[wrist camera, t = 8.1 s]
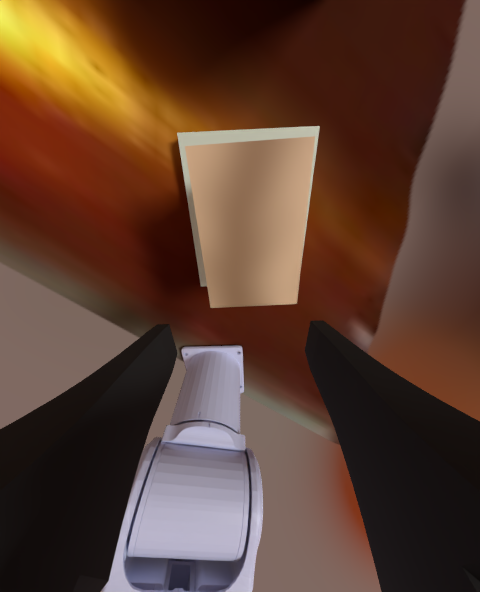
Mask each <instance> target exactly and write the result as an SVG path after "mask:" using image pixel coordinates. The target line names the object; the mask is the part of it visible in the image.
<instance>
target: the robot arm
mask: <svg viewBox="0 0 480 592" xmlns="http://www.w3.org/2000/svg"><path fill="white" fill-rule="evenodd" d="M181 352H182V356H183V360H184V363H185V367H186V371H187V372H186V375H185V378H184V381H183V384H182V387H181V390H180V394H179V397H178V401H177V403H176V407H175V409H174V413H173V416H172V419H171V422H170V425H167V426H166V428H165V431H164V434H163V437H162V438H161V437H155V438H154V439H153V440H152V441H151V442H150V443H149V444H147V445H146V446H145V448H144V444H145V442H146V438H147V435H148V432H149V429H150V426H151V424H152V421H153V418H154V416H155V413H156V411H157V408H158V406H159V403H160V401H161V399H162V396H163V394H164V391H165V389H166V387H167V384H168V382H169V379H170V377H171V374H172V371H173V368H174V364H175V361H176V357H177V350H176V346H175V343H174V340H173V336H172V333H171V329H170V326H169V324H162V325H156V326H155V327H153V328H152V329H151V330H149V331H148V332H147V333H145V334H144V335H143V336H142V337H140V338H139V339H138V340H137V341H135V342H134V343H133V344H132V345H130V346H129V347H128V348H126V349H125V350H124V351H123V352H121V353H120V354H119V355H117V356H116V357H115V358H114V359H112V360H111V361H109V362H108V363H106V364H105V365H104V366H102V367H101V368H100V369H98V370H97V371H96V372H94V373H93V374H91V375H90V376H89V377H87V378H85V379H84V380H82V381H81V382H79V383H78V384H76V385H75V386H73V387H72V388H70V389H68V390H67V391H65V392H64V393H62V394H61V395H59V396H57V397H56V398H54V399H53V400H51V401H49V402H47V403H46V404H44V405H42V406H40V407H39V408H37V409H35V410H34V411H32V412H30V413H28V414H27V415H25V416H24V417H22V418H20V419H18V420H16V421H15V422H13V423H11V424H9V425H8V426H6V427H4V428H2V429H0V592H100V591H102V592H252V590H253V580H254V570H255V561H256V553H257V548H258V546H259V542H260V537H261V530H262V519H263V492H262V480H261V473H260V468H259V464H258V461H257V459H256V458H255V456H254V453H253V451H252V450H251V449H250V448H245V435H242V434H240V393H243V392H244V377H243V352H242V347H241V346H199V347H183V348H182V350H181ZM305 353H306V356H307V360H308V363H309V367H310V370H311V372H312V375H313V377H314V380H315V382H316V384H317V387H318V389H319V391H320V394H321V396H322V398H323V401H324V403H325V405H326V408H327V410H328V412H329V415H330V417H331V420H332V422H333V425H334V427H335V430H336V433H337V436H338V440H339V443H340V445H341V449H342V451H343V455H344V458H345V461H346V464H347V468H348V471H349V474H350V477H351V481H352V483H353V487H354V491H355V494H356V498H357V501H358V505H359V508H360V512H361V515H362V518H363V522H364V525H365V529H366V533H367V537H368V541H369V544H370V548H371V551H372V556H373V559H374V563H375V567H376V571H377V575H378V579H379V583H380V587H381V591H382V592H480V421H478V420H476V419H474V418H472V417H470V416H468V415H466V414H465V413H463V412H461V411H459V410H457V409H456V408H454V407H452V406H450V405H448V404H446V403H445V402H443V401H441V400H439V399H437V398H436V397H434V396H432V395H430V394H429V393H427V392H425V391H424V390H422V389H420V388H419V387H417V386H415V385H414V384H412V383H410V382H409V381H407V380H406V379H404V378H402V377H401V376H399V375H397V374H396V373H394V372H393V371H391V370H390V369H388V368H387V367H385V366H384V365H382V364H381V363H380V362H378V361H377V360H375V359H374V358H372V357H371V356H370V355H368V354H367V353H365V352H364V351H363V350H361V349H360V348H359V347H357V346H356V345H355V344H353V343H352V342H351V341H349V340H348V339H347V338H345V337H344V336H343V335H341V334H340V333H339V332H338V331H336V330H335V329H334V328H332V327H331V326H330V325H328V324H327V323H326V322H324V321H311V322H310V327H309V332H308V337H307V342H306V347H305ZM143 448H144V449H143Z"/></svg>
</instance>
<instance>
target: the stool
mask: <svg viewBox="0 0 480 592" xmlns="http://www.w3.org/2000/svg"><path fill="white" fill-rule="evenodd" d="M314 143H315V136H313V137H300V138H286V139H273V140H260V141H246V142H233V143H220V144H207V145H193V146H185V151H186V157H187V163H188V169H189V176H190V182H191V188H192V194H193V201H194V207H195V213H196V219H197V225H198V232H199V238H200V244H201V250H202V257H203V263H204V269H205V275H206V281H207V288H208V294H209V300H210V306H211V308H218V307H239V306H260V305H281V304H297V297H298V288H299V279H300V270H301V261H302V252H303V242H304V233H305V224H306V215H307V206H308V197H309V188H310V179H311V170H312V161H313V152H314Z"/></svg>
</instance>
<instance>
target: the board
mask: <svg viewBox="0 0 480 592" xmlns="http://www.w3.org/2000/svg"><path fill="white" fill-rule="evenodd" d="M319 128H320V126H311V127H290V128H269V129H248V130H227V131H206V132H185V133H177V136H178V142H179V148H180V155H181V161H182V168H183V174H184V181H185V187H186V194H187V200H188V206H189V213H190V219H191V226H192V232H193V239H194V245H195V252H196V258H197V265H198V271H199V277H200V284H201V286H207V281H206V275H205V269H204V263H203V257H202V250H201V244H200V238H199V232H198V225H197V219H196V213H195V207H194V201H193V194H192V188H191V182H190V176H189V169H188V163H187V157H186V151H185V146H193V145H207V144H220V143H233V142H246V141H260V140H273V139H286V138H300V137H313V136H315V143H314V152H313V161H312V170H311V179H310V188H309V197H308V206H307V215H306V224H305V232H306V225H307V217H308V210H309V202H310V195H311V187H312V180H313V172H314V165H315V157H316V150H317V142H318V135H319ZM304 240H305V233H304ZM303 247H304V242H303ZM302 255H303V252H302ZM301 262H302V261H301Z"/></svg>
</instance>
